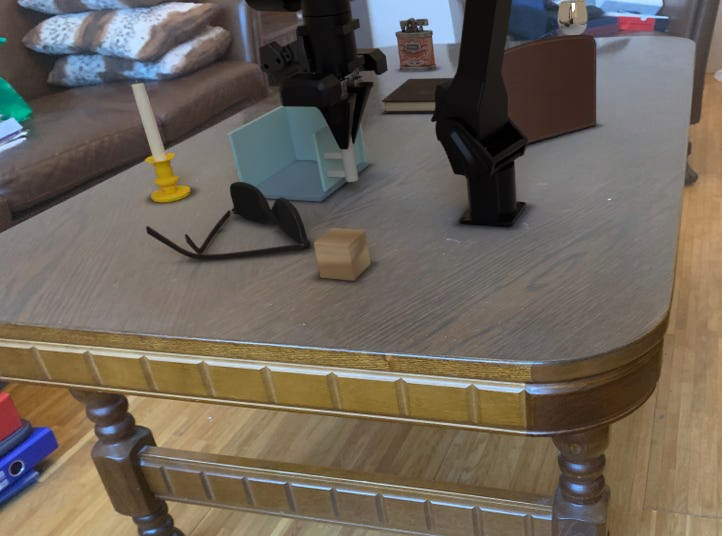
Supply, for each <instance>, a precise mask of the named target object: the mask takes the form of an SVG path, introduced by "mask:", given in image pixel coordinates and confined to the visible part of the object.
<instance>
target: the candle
mask: <svg viewBox="0 0 722 536" xmlns="http://www.w3.org/2000/svg"><path fill="white" fill-rule="evenodd" d="M131 88H132V93H133V97H134V99H135V104H136V106H137V109H138V113H139V117H140V119H141V122H142V125H143V126H142V127H143V130H144V132H145V136H146V139H147V142H148V145H149V149H150V152H151V155H150V156H148V157H146V158H145V160H144V161H145V163H149V164H152V166H153V167H154V173H155V174H156V176H157V177H156V178H155V179H154V184H155V185H156V186H159V187H160V188H159V189H157V190H155V191H154V192H152V193H151V195H150V197H151V200H152V201H153V202H155V203H162V204H163V203H171V202H177V201H180V200H182V199H184V198H187V197H189V196H190V195H191V193H192V190H191V188H190V187H189V186H187V185H182V184H181V185H180V184H179V185H177V182H179V181H180V177H179V175H177V174H174V170H173V167H172V165H171V160H173V159H174V158H175V157H176V154H175V153H173V152H166V150H165V146H164V143H163V140H162V137H161V134H160V129H159V127H158V124H157V121H156V118H155V114H154V110H153V109H152V104H151V102H150V99H149V95H148V92H147V89H146V86H145V83H143V82H141V83H138V80H137V79H135V83H133V84H131Z"/></svg>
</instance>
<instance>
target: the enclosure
mask: <svg viewBox="0 0 722 536" xmlns="http://www.w3.org/2000/svg"><path fill="white" fill-rule="evenodd" d="M326 124H327V122H326V120H325V119H324V117H323V115H322V113H321V112H320V110H319V109H317V108H316V107H283V106H282V105H280V106H277V107H276V108H274V109H272V110H270V111H267V112H266V113H263V114H262V115H260V116H258V117H257V118H254V119H253V120H251V121H248V122H247V123H245V124H243V125H241V126H238V127H237V128H235V129H233V130H231V131H230V132H228V133H226V135H227V139H228V142H229V146H230V151H231V155H232V159H233V162H234V166H235V167H234V168H235V172H236V174H237V179H238V182H245V183H248V184H251V185H253V186H255V187H256V188H258V189H259V190H260V191H261V192H262V194H263V195H264V197H265V199H272V200H276V199H278V198H285V199H287V200H288V201H305V202H320V203H321V202H322V201H324V200H325V199H326V198H328V197H329V196H330V195H332V194H333V193H334V192H336V191H337V190H338V189H340V188H341V187H342V186H344V185H345V184H346V183H348V182H347V181H346V177H343V178H341V179H340V180H339V181H338V182H337V183H336V184H334V185H333V186H332V187H331V188H330V189H328V190H327V191H326V192H324V191H323V187H322V182H321V177H320V172H319V167H318V161H317V156H316V151H315V146H314V141H313V136H312V133H314V132H315V131H317V130H318V129H320V128H321V127H323V126H324V125H326ZM357 141H358V147H359V153H360V160H361V162H360V163H359V164H358V165H357V166H356V167H357V173H358V174H359V173H360V172H362V171H363V170H364V169H366V168H367V167H368V166H369V164H368V157H367V152H366V151H367V149H366V145H365V138H364V132H363V126H362V122H361V123H360V127H359V130H358V134H357Z"/></svg>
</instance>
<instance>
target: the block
mask: <svg viewBox="0 0 722 536" xmlns="http://www.w3.org/2000/svg"><path fill="white" fill-rule="evenodd" d="M313 248H314V253H315V257H316V262H317V267H318V273H319V276H320V278H322V279H330V280H332V279H333V280H342V281H349V282H350V281H351V282H354V281H356V280H357V279H358V278H359V276H361V275H362V274H363V273H364V272H365V271H366V270H367V269H368V268H369V267H370V266H371V263H372V262H371V257H370V253H369V246H368V240H367V235H366V230H365V229H355V228H354V229H353V228H340V227H339V228H338V227H331V228H330V229H328V230H327V231H326V232H325V233H323V234H322V235H321V236H320V237H318V239H317V240H315V241H314V242H313Z"/></svg>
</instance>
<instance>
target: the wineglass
mask: <svg viewBox="0 0 722 536" xmlns="http://www.w3.org/2000/svg"><path fill="white" fill-rule="evenodd" d="M557 27H558V31H559V32H560V33H561V34H562V36H566V35H583V33H585V31H586V30H587V27H588V11H587V5H586V1H585V0H562V1H560V2H559V7H558V12H557Z"/></svg>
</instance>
